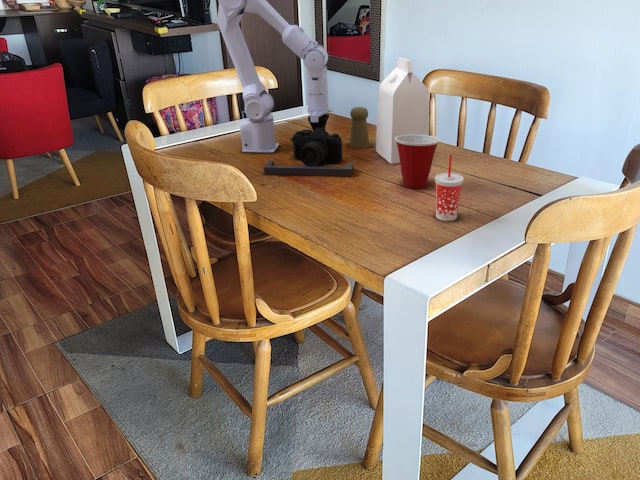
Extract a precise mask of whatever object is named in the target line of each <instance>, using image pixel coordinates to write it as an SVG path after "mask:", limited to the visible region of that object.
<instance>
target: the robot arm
mask: <svg viewBox="0 0 640 480" xmlns="http://www.w3.org/2000/svg"><path fill="white" fill-rule="evenodd" d="M244 13H251V14H256V15H258V16H259V17H261V18H262V19H263V20H264V21H265V22H266V23H268V25H270V26H271V27H272V28H273V29H274V30H276V31H277V32H278V33H279V34H280V35H281V38H282V39H281V40H282V43H283V44H284V45H285V46H286V47H287V48H288V49H290V50H291V52H293V53H294V54H295V55H296V56H297V57H298V58H299V59H301V60H302V61H303V65H304V67H305V68H306V92H307V93H306V94H307V95H306V96H307V113H308V116H307V121H308V123H309V125H310V126H311V130H312V131H314V130H316V128H317V127H318V128H323V127H325V128H326V127H327V124H328V120H329V118H330V113H332V112H333V110H334V109H333V108H332V107H329V87H328V68H327V63H328V60H329V54H328V51H327V50H326V49H325V46H324V45H320V44H319V42H317V40H313V39H312V38H311V37H310V36H309V35H308V34H307V33H306V32H305V28H304V27H303V26H298V25H297V24H289V23H288V21H286V19H285V18H284V17H283V16H282V15H281V14H280V13H279V12H278V11H277V10H276V9H275V8H274V7H273V6H272V5H271V4H270V3H269V1H267V0H218V12H217V26H218V29H219V30H220V34H221V35H222V38H223V41H224V44H225V46H226V48H227V51H228V54H229V56H230V59H231V60H232V64H233V66H234V69H235V71H236V74H237V77H238V79H239V82H240V85H241V87H242V100H243V103H244V108H243V109H244V114H245V116H246V118H242V119H241V120H240V123H239V124H240V126H239V130H240V131H239V132H240V140H241V147H242V148H241V149H242V150H241V152H242V153H262V154H263V153H269V154H273V153H275V152H276V150H277V149H278V147H279V146H280V143H279V142H276V135H275V134H276V133H275V123H274V115H273V113H272V111H273V109H274V107H275V100H274V98H273V96H272V95H271V94H270V93H269V92H268V91H267V88H266V86H265V85H264V83H263V82H262V81H261V79H260V77H259V75H258V72H257V70H256V66H255V63H254V60H253V58H252V56H251V53H250V50H249V48H248V45H247V41H246V40H245V37H244V34H243V32H242V29H241V26H240V22H241V21H242V18H243V16H244ZM328 113H329V114H328Z"/></svg>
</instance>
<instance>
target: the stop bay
mask: <svg viewBox="0 0 640 480" xmlns="http://www.w3.org/2000/svg"><path fill="white" fill-rule="evenodd" d="M354 164H355V163H354V161H353V162H351V161H348V162H347V164H346V166H315V167H311V166H306V165H304V166H303V165H301V166H300V165H275V160H271V159H270V160H268V161H267V162H266V163H265V165H264V167H263V170H264V171H263V172H264V175H272V176H273V175H274V176H279V175H280V176H310V177H311V176H315V177H352V176H353V173H354V169H355V165H354Z"/></svg>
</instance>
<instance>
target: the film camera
mask: <svg viewBox="0 0 640 480" xmlns="http://www.w3.org/2000/svg"><path fill="white" fill-rule="evenodd" d="M290 143H292V148H293V149H292V150H293V151H292V152H293V158H294V160H298V161H301V162H302V164H303V165H304V166H311V167H319V166H320V164H324V163H325V164H327V163H328V164H341V163H342V162H343V159H344V158H343V139H342V137H341V136H340V135H339V133H332V134H329V132H328V131H327V130H326V127H323V128H318V127H317V128H316V130H314V131H313V129H307V128H306V129H302V130H296V131H295V133H294V134H293V135H292V137H291V138H290Z"/></svg>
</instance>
